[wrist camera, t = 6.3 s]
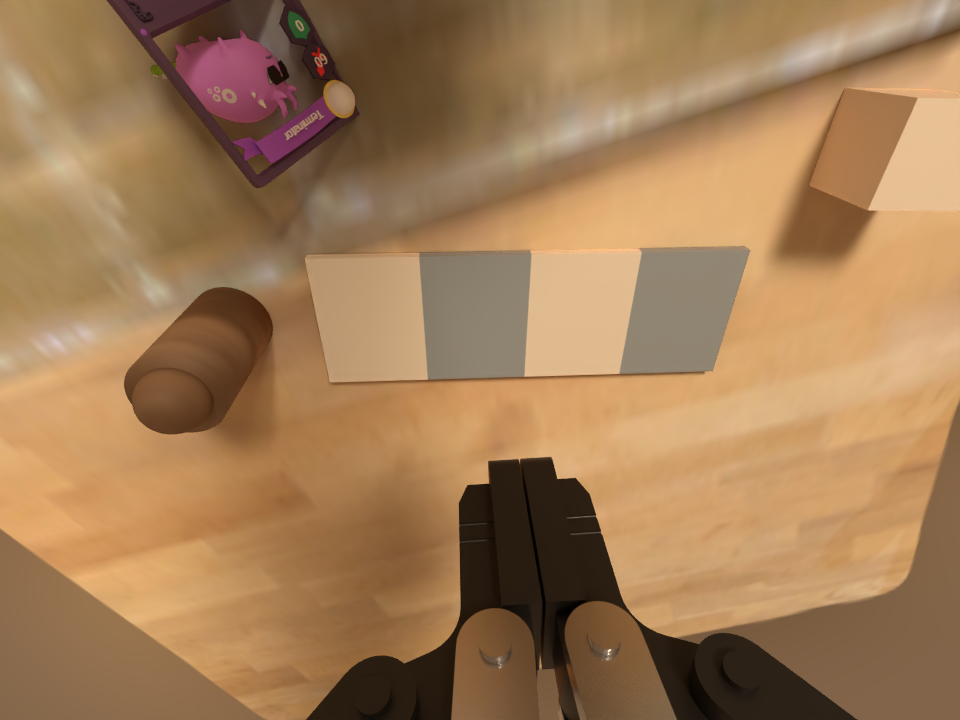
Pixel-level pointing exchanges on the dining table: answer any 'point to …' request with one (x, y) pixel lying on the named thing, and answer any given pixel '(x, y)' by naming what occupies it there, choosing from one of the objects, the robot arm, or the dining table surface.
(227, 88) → the game card
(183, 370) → the brown cylinder
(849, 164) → the cube
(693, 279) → the board
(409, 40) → the dining table surface
